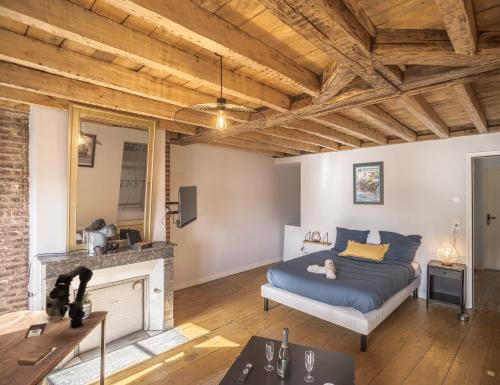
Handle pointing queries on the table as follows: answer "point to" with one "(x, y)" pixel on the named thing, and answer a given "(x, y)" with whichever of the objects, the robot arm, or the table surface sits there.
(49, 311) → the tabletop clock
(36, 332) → the chocolate bar
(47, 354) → the white mat
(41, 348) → the walnut tile
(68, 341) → the table surface
